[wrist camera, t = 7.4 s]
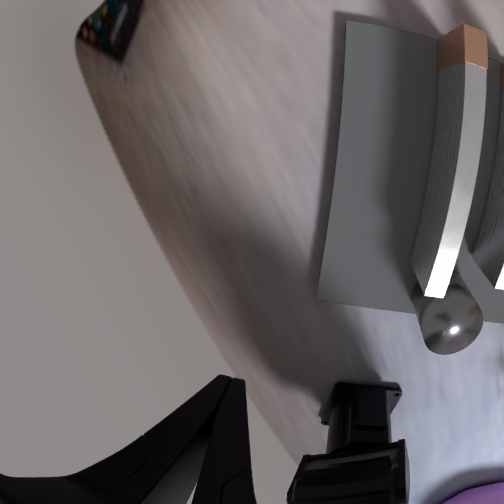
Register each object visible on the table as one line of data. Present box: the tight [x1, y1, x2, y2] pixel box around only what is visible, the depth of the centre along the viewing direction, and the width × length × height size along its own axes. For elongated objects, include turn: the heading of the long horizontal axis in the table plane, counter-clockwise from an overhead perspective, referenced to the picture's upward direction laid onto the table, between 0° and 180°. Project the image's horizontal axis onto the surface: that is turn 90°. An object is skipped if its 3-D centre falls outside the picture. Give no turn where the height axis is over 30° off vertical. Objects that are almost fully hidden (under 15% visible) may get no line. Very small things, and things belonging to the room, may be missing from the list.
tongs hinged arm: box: [410, 24, 488, 355], centre depth 14 cm, size 18×5×4 cm, turn 178°
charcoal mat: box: [316, 20, 504, 323], centre depth 16 cm, size 18×17×1 cm
